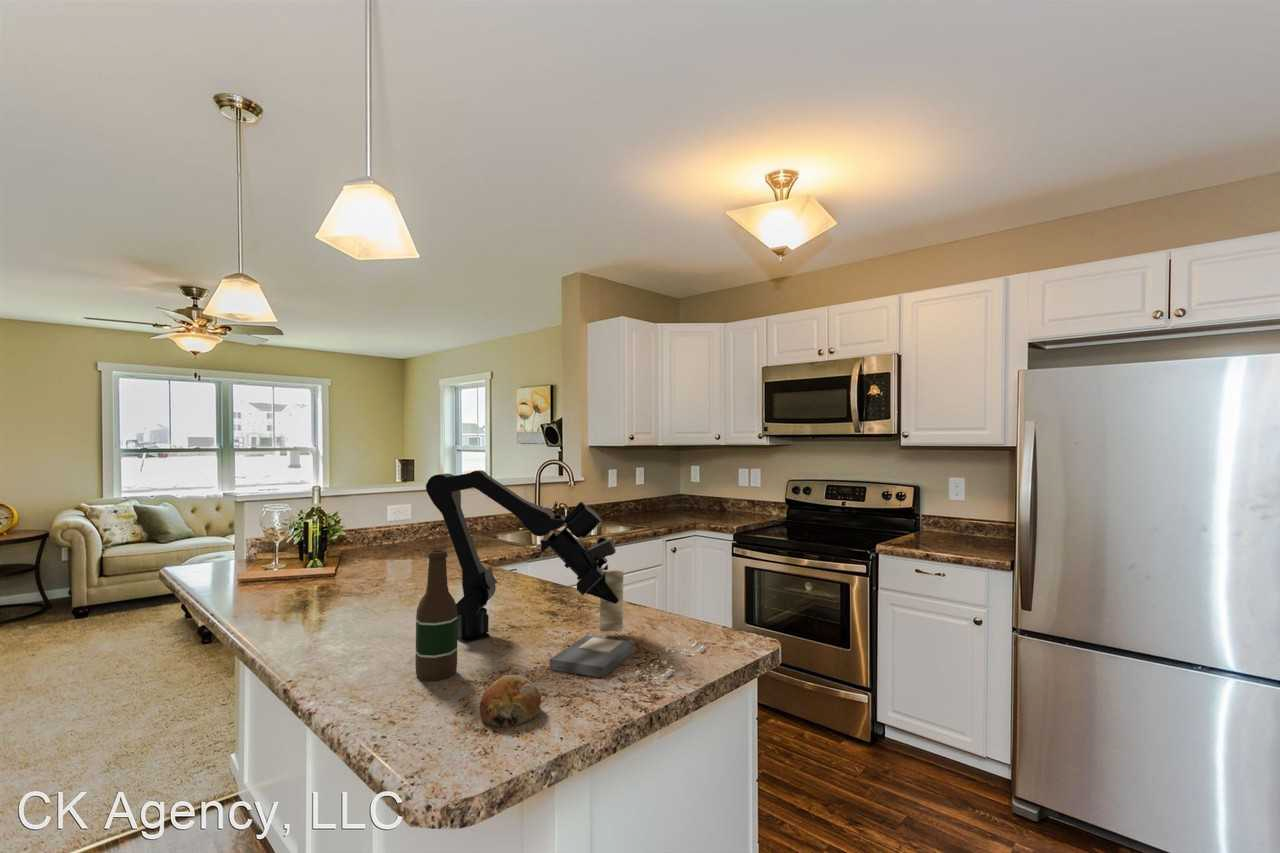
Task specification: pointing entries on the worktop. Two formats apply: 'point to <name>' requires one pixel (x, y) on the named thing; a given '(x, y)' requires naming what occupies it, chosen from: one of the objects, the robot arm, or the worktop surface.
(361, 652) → the worktop surface
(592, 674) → the slate plinth
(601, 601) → the birch pillar
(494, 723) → the bread roll
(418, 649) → the beer bottle
